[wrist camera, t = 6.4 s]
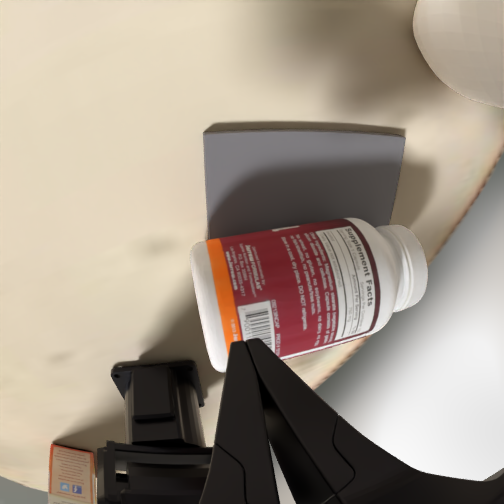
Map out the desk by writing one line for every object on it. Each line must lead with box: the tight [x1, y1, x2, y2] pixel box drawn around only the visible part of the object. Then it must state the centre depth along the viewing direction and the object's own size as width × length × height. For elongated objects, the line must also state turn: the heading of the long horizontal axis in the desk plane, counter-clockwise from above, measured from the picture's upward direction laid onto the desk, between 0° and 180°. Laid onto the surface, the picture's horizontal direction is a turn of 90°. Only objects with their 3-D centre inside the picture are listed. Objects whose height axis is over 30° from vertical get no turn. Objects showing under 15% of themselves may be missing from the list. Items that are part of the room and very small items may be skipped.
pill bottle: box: [190, 218, 428, 372], centre depth 15 cm, size 6×6×11 cm
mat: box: [203, 129, 405, 240], centre depth 17 cm, size 10×11×1 cm
